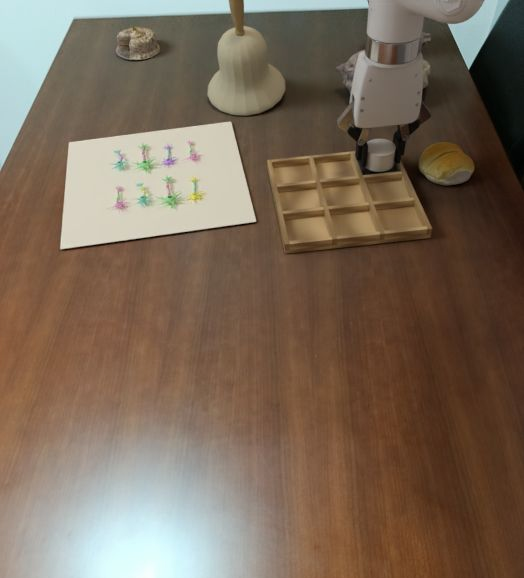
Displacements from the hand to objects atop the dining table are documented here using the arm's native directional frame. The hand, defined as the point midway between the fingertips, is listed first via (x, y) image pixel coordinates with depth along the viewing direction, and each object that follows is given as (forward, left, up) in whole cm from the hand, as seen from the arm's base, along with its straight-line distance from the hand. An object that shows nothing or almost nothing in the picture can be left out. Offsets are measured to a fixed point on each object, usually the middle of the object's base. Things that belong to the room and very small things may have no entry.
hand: (378, 159), depth 95 cm
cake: (+41, -54, -2) cm, 68 cm away
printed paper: (+37, -4, -2) cm, 37 cm away
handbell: (+19, -29, -2) cm, 35 cm away
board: (+7, +7, -2) cm, 10 cm away
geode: (-7, -24, -2) cm, 25 cm away
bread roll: (-11, +2, -2) cm, 11 cm away
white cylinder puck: (0, 0, -1) cm, 1 cm away
